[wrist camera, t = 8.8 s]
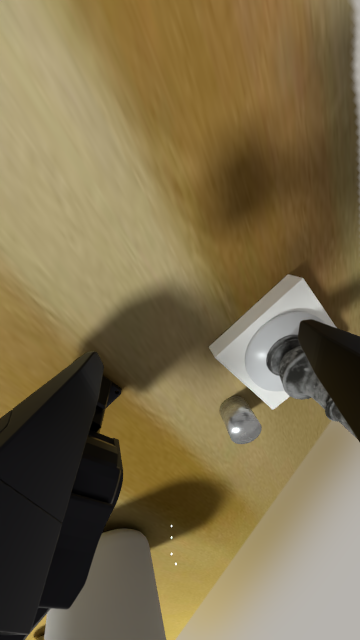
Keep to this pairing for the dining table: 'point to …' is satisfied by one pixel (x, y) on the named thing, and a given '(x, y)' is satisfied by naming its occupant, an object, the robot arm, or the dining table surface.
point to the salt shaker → (300, 376)
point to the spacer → (239, 420)
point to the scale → (267, 336)
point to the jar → (113, 595)
